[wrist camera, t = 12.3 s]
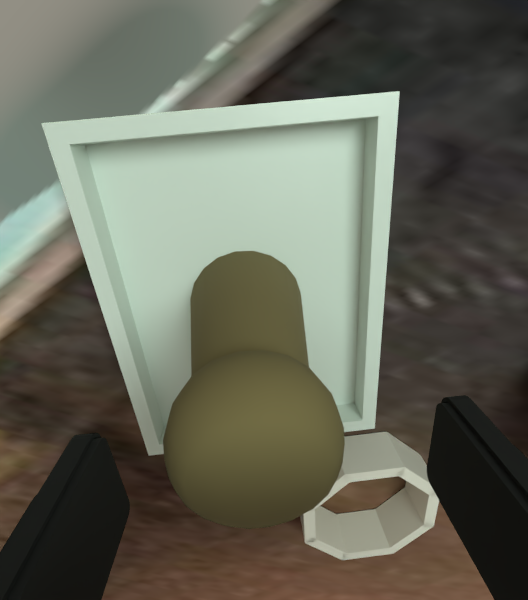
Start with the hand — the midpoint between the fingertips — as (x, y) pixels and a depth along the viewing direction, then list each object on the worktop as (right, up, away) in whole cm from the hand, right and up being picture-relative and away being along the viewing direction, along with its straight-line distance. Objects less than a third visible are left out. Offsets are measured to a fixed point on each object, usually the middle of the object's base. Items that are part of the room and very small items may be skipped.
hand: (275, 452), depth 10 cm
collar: (+7, -10, +17) cm, 21 cm away
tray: (-1, +5, +10) cm, 11 cm away
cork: (-1, +4, +9) cm, 10 cm away
